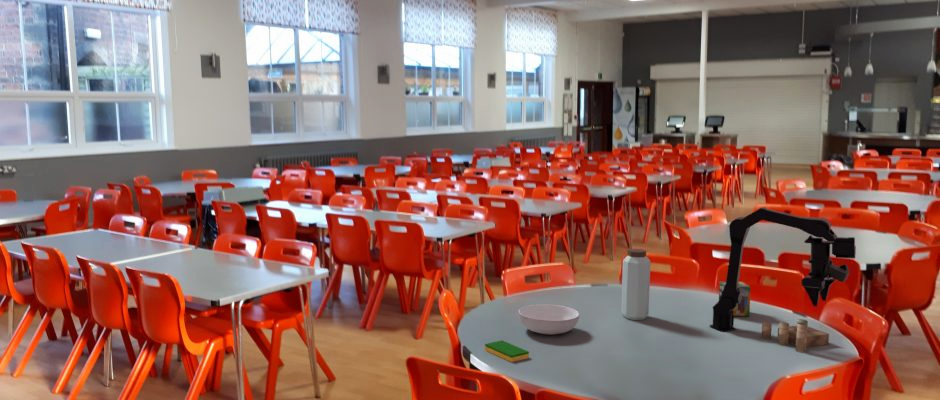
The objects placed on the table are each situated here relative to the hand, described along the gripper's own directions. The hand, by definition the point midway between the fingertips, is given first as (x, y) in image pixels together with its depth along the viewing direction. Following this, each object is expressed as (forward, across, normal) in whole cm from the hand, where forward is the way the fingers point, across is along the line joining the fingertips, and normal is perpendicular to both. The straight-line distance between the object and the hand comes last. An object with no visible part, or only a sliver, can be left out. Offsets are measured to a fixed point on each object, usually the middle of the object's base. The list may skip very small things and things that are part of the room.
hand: (819, 303), depth 246 cm
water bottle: (+10, -14, +60) cm, 63 cm away
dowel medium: (+13, -9, +9) cm, 18 cm away
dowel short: (+13, -6, +15) cm, 21 cm away
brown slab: (+13, -2, +5) cm, 14 cm away
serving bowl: (+10, -50, +74) cm, 90 cm away
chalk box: (+12, +16, +35) cm, 40 cm away
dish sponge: (+10, -79, +70) cm, 106 cm away
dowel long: (+13, -13, +2) cm, 18 cm away
